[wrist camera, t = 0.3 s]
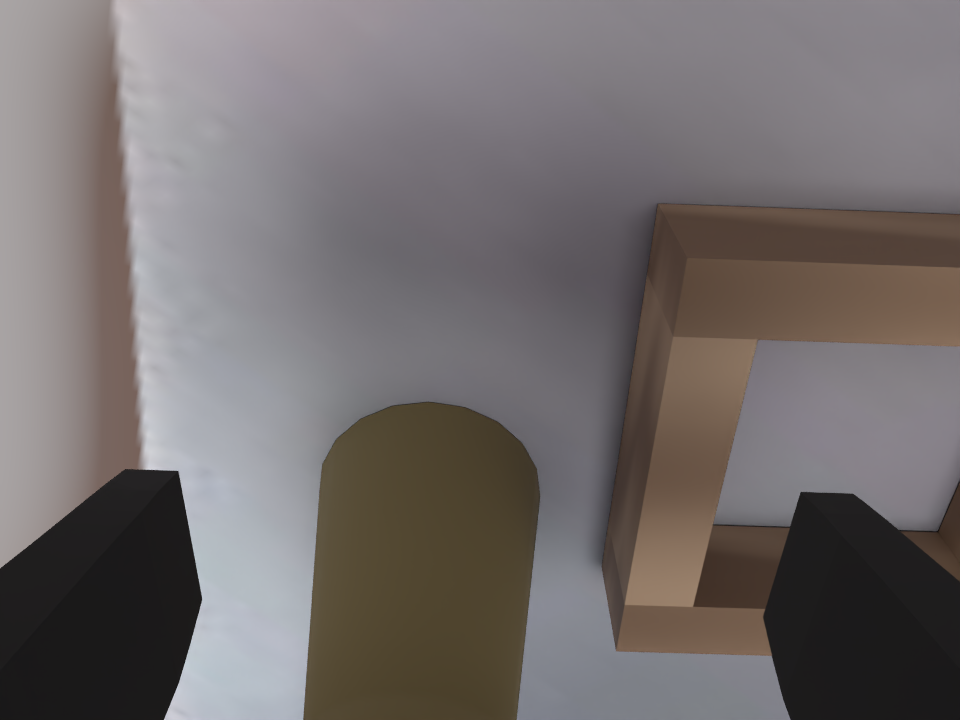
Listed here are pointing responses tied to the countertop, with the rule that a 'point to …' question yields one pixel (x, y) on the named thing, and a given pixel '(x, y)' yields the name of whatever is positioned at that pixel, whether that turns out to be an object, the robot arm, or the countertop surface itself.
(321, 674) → the olive rounded peg
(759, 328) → the socket block
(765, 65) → the countertop surface
